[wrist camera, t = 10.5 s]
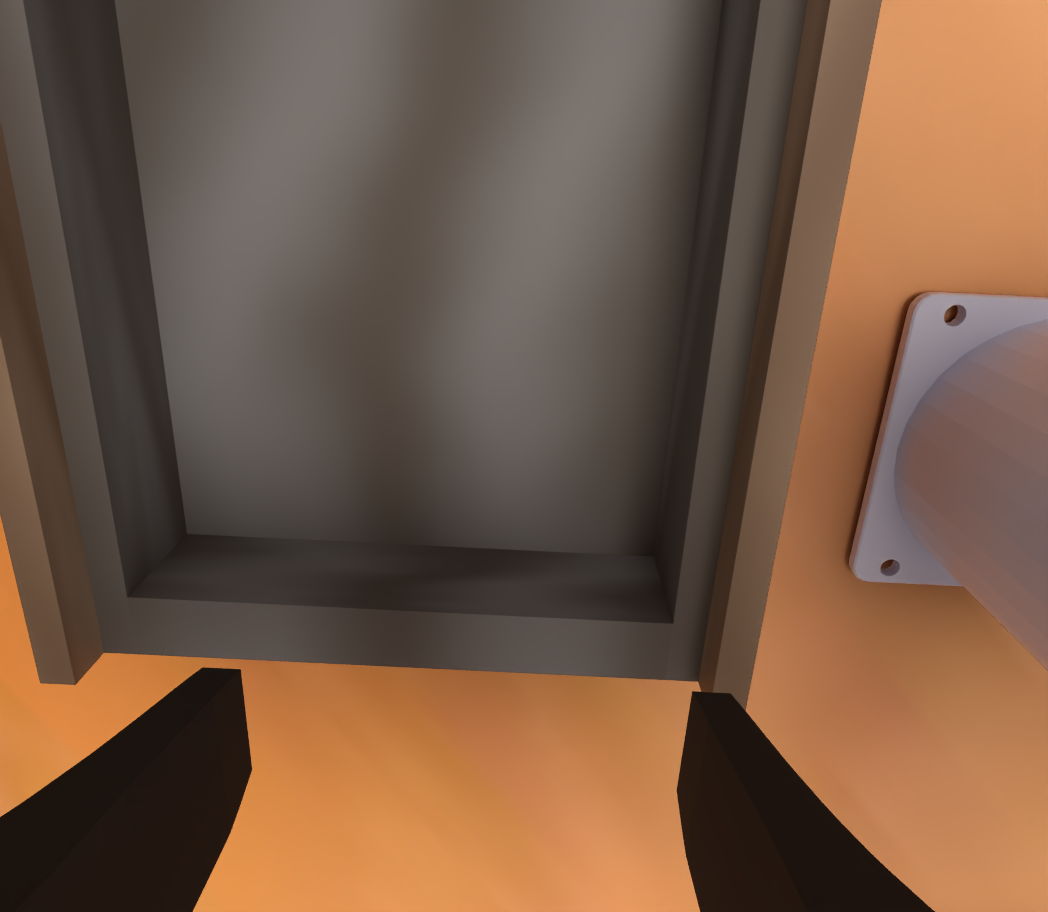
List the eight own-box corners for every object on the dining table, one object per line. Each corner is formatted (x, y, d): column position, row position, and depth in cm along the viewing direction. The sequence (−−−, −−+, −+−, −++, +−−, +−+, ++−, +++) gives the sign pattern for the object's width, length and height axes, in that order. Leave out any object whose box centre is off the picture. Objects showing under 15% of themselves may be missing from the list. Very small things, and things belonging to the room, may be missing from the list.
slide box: (814, -169, 15) (943, -323, 10) (698, 594, 22) (744, 717, 17) (28, -207, 15) (-211, -380, 10) (150, 567, 22) (40, 682, 17)
